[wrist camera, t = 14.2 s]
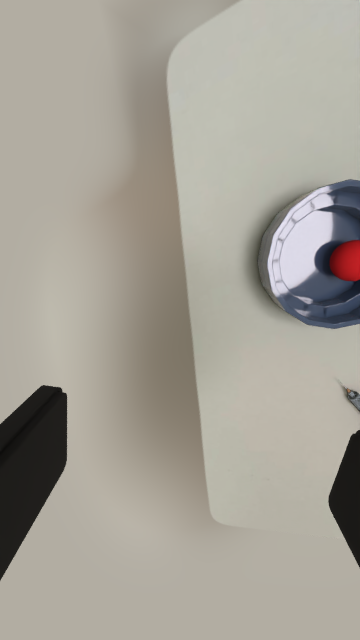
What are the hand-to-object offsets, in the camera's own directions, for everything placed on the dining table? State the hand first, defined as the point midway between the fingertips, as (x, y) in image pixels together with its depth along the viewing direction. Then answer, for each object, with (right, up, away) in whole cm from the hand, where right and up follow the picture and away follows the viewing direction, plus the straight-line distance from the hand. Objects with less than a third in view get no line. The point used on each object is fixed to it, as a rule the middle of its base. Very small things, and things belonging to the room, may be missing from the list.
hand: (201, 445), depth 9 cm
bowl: (+14, +11, +20) cm, 27 cm away
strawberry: (+15, +10, +19) cm, 26 cm away
